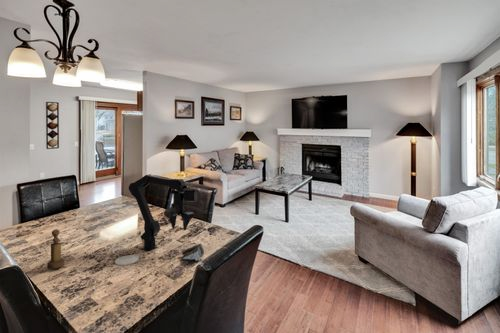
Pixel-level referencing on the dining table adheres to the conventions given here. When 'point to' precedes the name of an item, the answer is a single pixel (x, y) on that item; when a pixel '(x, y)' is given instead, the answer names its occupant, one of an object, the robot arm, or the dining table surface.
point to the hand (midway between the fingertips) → (179, 229)
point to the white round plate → (126, 260)
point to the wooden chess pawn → (55, 252)
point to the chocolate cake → (193, 252)
